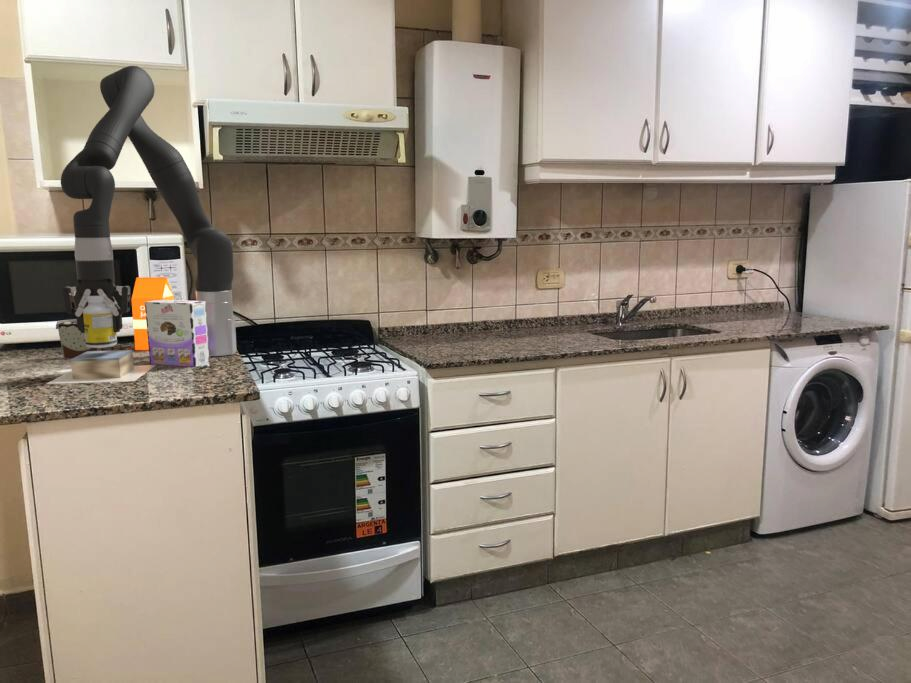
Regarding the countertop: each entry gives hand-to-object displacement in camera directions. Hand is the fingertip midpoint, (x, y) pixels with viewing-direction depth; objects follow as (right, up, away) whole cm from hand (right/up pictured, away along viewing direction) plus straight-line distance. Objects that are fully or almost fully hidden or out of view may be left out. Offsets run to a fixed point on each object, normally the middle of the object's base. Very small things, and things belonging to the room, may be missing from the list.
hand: (100, 332), depth 161 cm
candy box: (+12, -9, +14) cm, 21 cm away
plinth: (0, -10, +1) cm, 10 cm away
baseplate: (0, -11, +2) cm, 11 cm away
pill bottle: (0, -3, +1) cm, 3 cm away
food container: (-17, -7, +27) cm, 33 cm away
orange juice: (-5, -4, +42) cm, 42 cm away
